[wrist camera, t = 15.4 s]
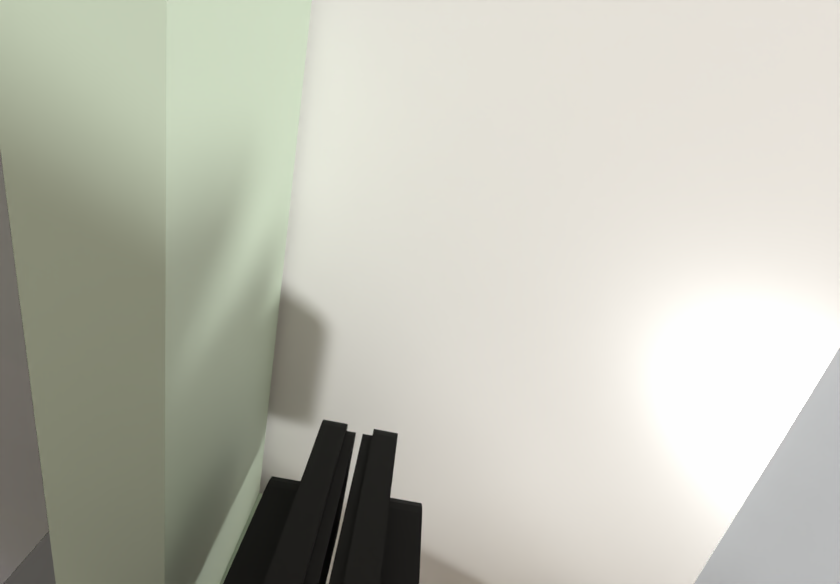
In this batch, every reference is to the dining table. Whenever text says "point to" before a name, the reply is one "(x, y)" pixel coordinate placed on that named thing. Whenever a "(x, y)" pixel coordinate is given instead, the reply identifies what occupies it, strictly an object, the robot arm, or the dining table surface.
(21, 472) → the dining table surface
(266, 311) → the gate
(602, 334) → the gate frame
